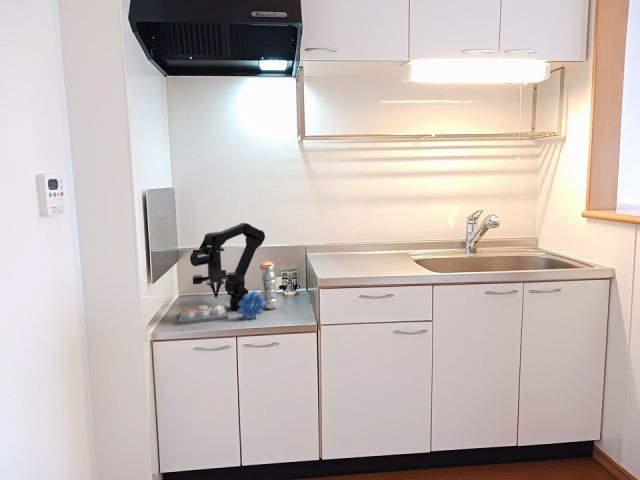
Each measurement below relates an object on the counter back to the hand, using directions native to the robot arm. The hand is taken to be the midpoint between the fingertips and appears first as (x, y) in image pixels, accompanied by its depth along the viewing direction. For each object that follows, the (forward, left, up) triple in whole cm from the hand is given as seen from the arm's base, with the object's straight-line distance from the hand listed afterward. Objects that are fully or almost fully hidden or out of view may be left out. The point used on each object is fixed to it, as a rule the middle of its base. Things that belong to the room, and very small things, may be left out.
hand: (216, 297), depth 189 cm
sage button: (0, 0, -7) cm, 7 cm away
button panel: (+6, 0, -8) cm, 10 cm away
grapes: (-14, +9, -9) cm, 19 cm away
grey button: (+6, 0, -6) cm, 8 cm away
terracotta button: (+12, 0, -7) cm, 14 cm away
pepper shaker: (-26, -18, -9) cm, 33 cm away
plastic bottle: (-24, -2, -9) cm, 26 cm away
